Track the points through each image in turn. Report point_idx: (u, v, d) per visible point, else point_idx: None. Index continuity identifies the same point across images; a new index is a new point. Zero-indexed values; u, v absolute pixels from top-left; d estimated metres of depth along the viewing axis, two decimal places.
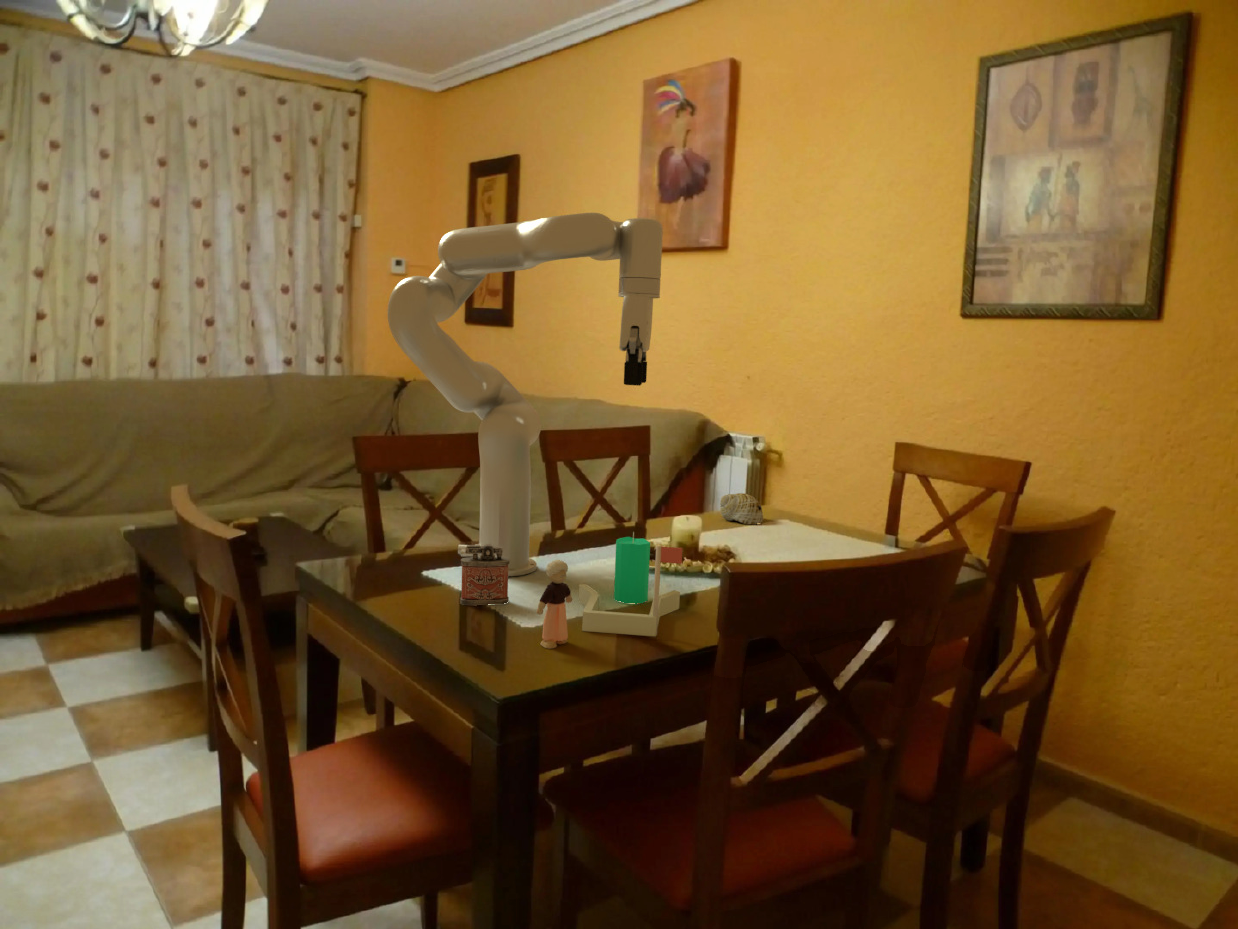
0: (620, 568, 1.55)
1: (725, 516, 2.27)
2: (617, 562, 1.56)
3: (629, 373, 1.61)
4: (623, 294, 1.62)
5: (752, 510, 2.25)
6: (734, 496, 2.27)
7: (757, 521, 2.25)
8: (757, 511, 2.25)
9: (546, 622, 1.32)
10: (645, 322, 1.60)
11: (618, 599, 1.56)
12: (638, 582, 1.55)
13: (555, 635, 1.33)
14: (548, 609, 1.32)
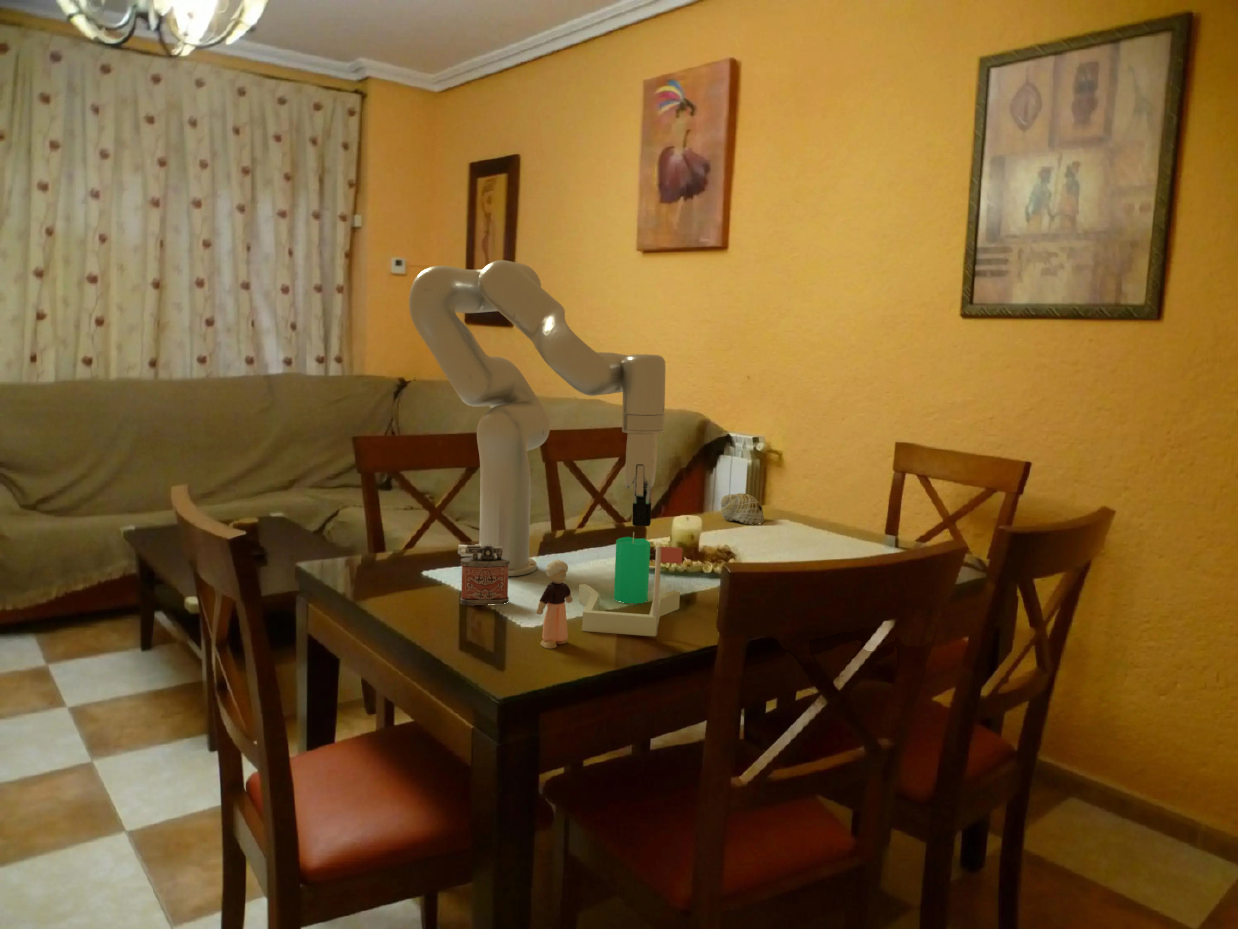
0: (621, 568, 1.55)
1: (726, 516, 2.27)
2: (617, 562, 1.56)
3: (637, 515, 1.62)
4: (627, 431, 1.59)
5: (753, 510, 2.25)
6: (735, 496, 2.27)
7: (758, 521, 2.25)
8: (758, 511, 2.25)
9: (546, 622, 1.32)
10: (650, 460, 1.57)
11: (618, 599, 1.56)
12: (638, 582, 1.55)
13: (555, 635, 1.33)
14: (548, 609, 1.32)
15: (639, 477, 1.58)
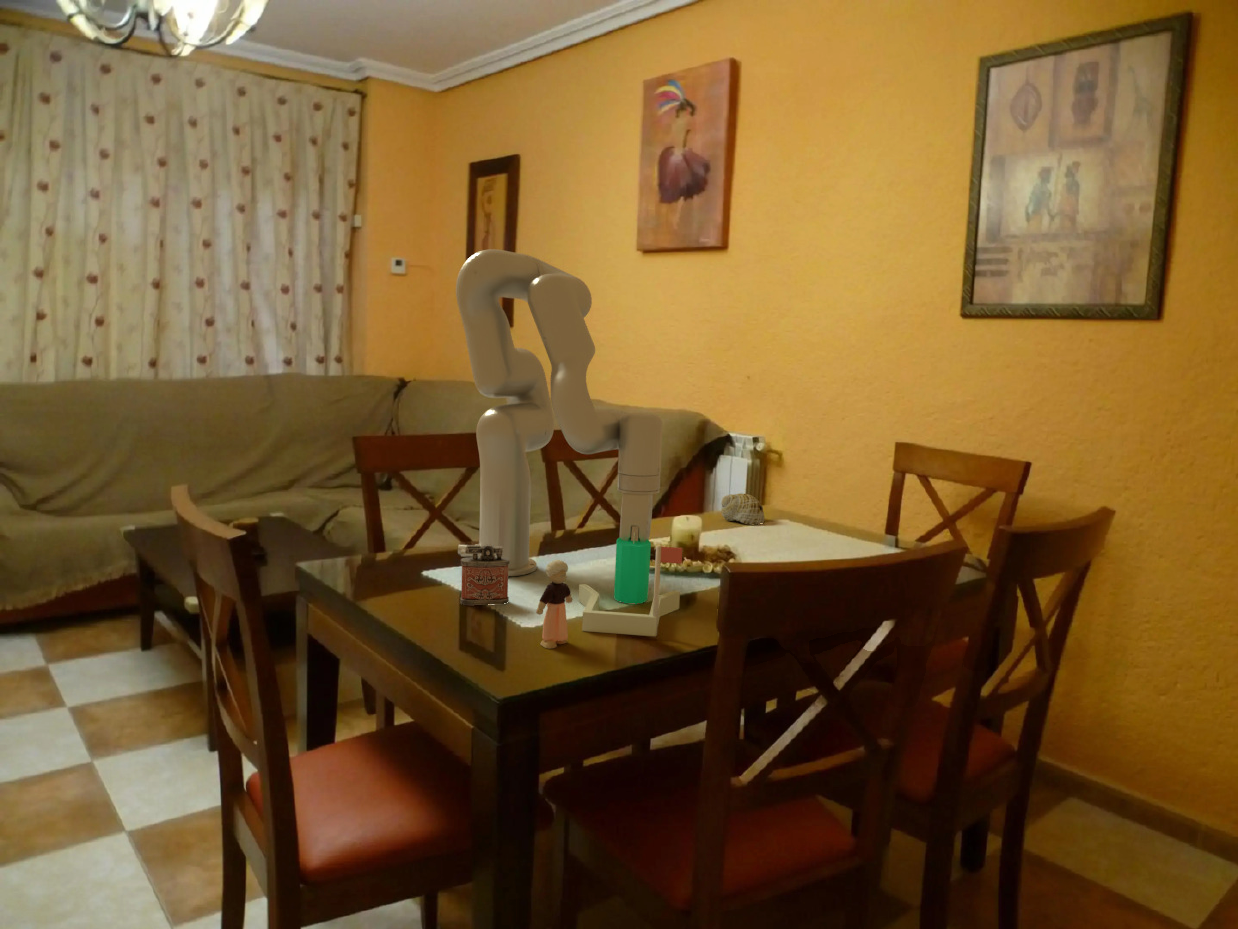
0: (621, 569, 1.54)
1: (726, 516, 2.27)
2: (617, 562, 1.55)
3: None
4: (622, 491, 1.58)
5: (753, 510, 2.25)
6: (735, 496, 2.27)
7: (758, 521, 2.25)
8: (758, 511, 2.25)
9: (546, 622, 1.32)
10: (645, 522, 1.56)
11: (618, 598, 1.56)
12: (639, 583, 1.54)
13: (555, 635, 1.33)
14: (548, 609, 1.32)
15: (633, 538, 1.57)
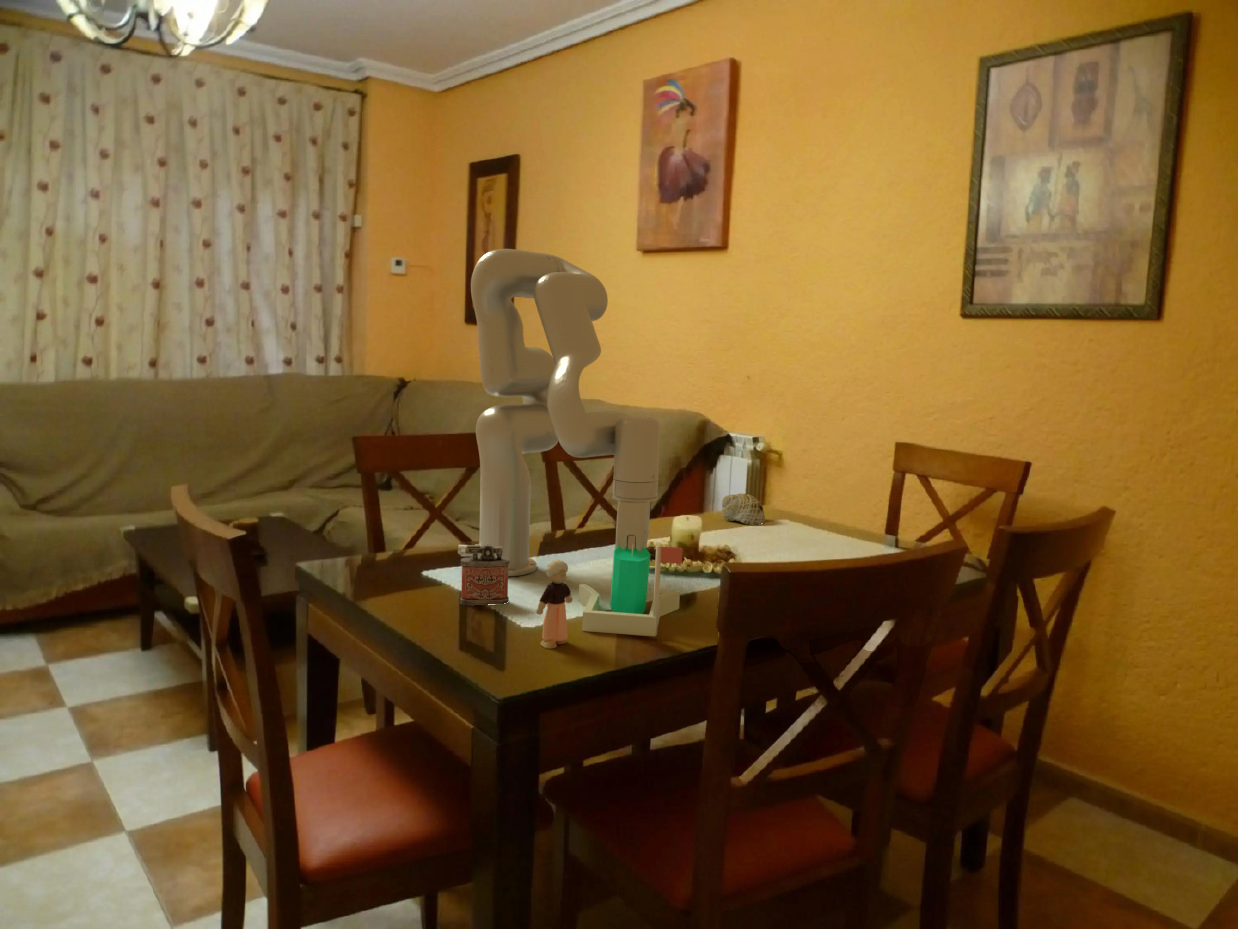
0: (618, 582, 1.46)
1: (727, 516, 2.27)
2: (615, 575, 1.46)
3: None
4: (618, 498, 1.49)
5: (754, 510, 2.25)
6: (736, 496, 2.26)
7: (759, 521, 2.25)
8: (759, 511, 2.25)
9: (546, 622, 1.32)
10: (642, 531, 1.48)
11: (615, 611, 1.48)
12: (637, 596, 1.47)
13: (555, 635, 1.33)
14: (548, 609, 1.32)
15: (630, 548, 1.48)
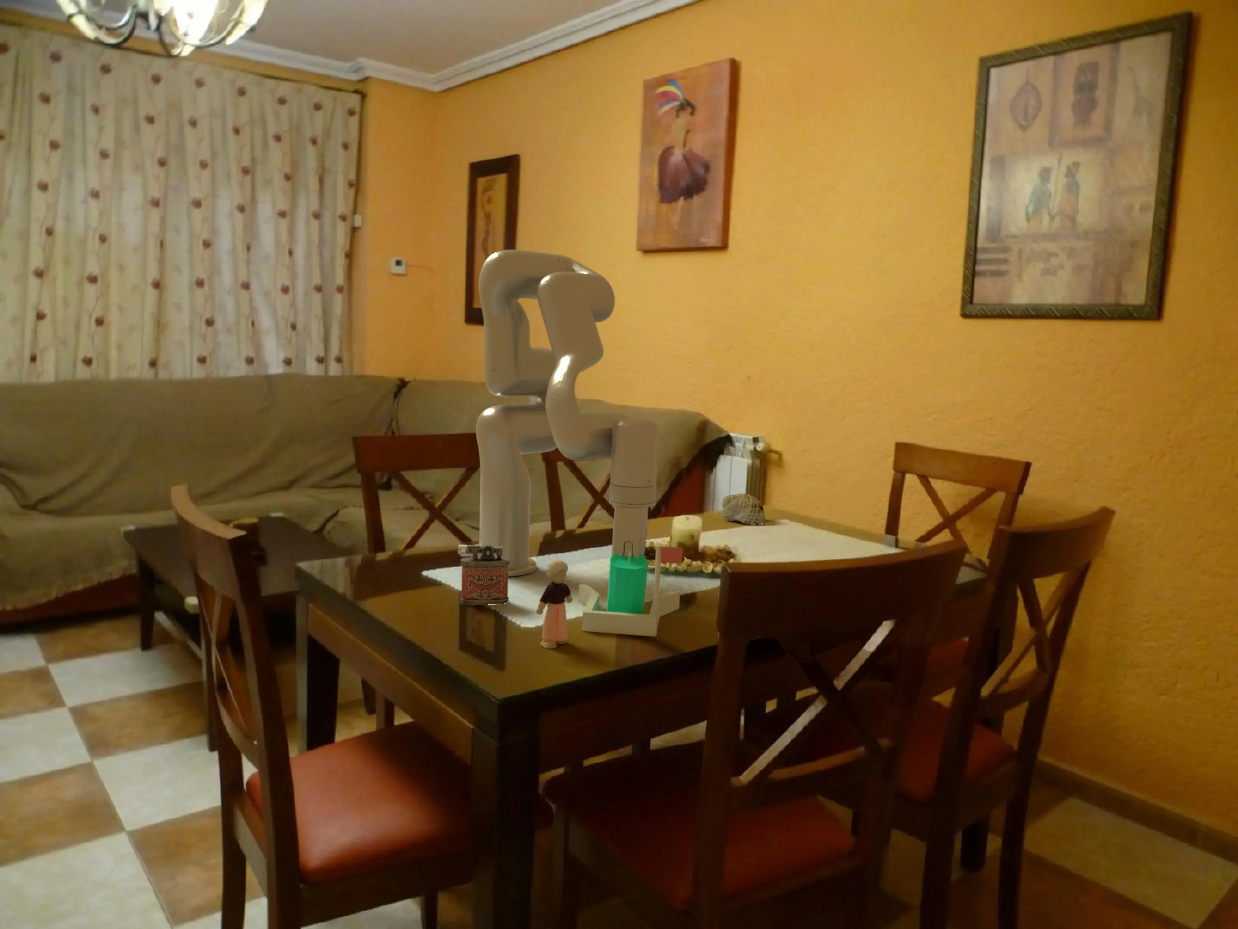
0: (615, 591, 1.41)
1: (727, 517, 2.27)
2: (611, 583, 1.42)
3: None
4: (615, 504, 1.45)
5: (754, 510, 2.25)
6: (736, 496, 2.26)
7: (759, 521, 2.25)
8: (759, 511, 2.25)
9: (546, 622, 1.32)
10: (640, 537, 1.43)
11: None
12: (634, 605, 1.42)
13: (555, 635, 1.33)
14: (548, 609, 1.32)
15: (627, 555, 1.44)
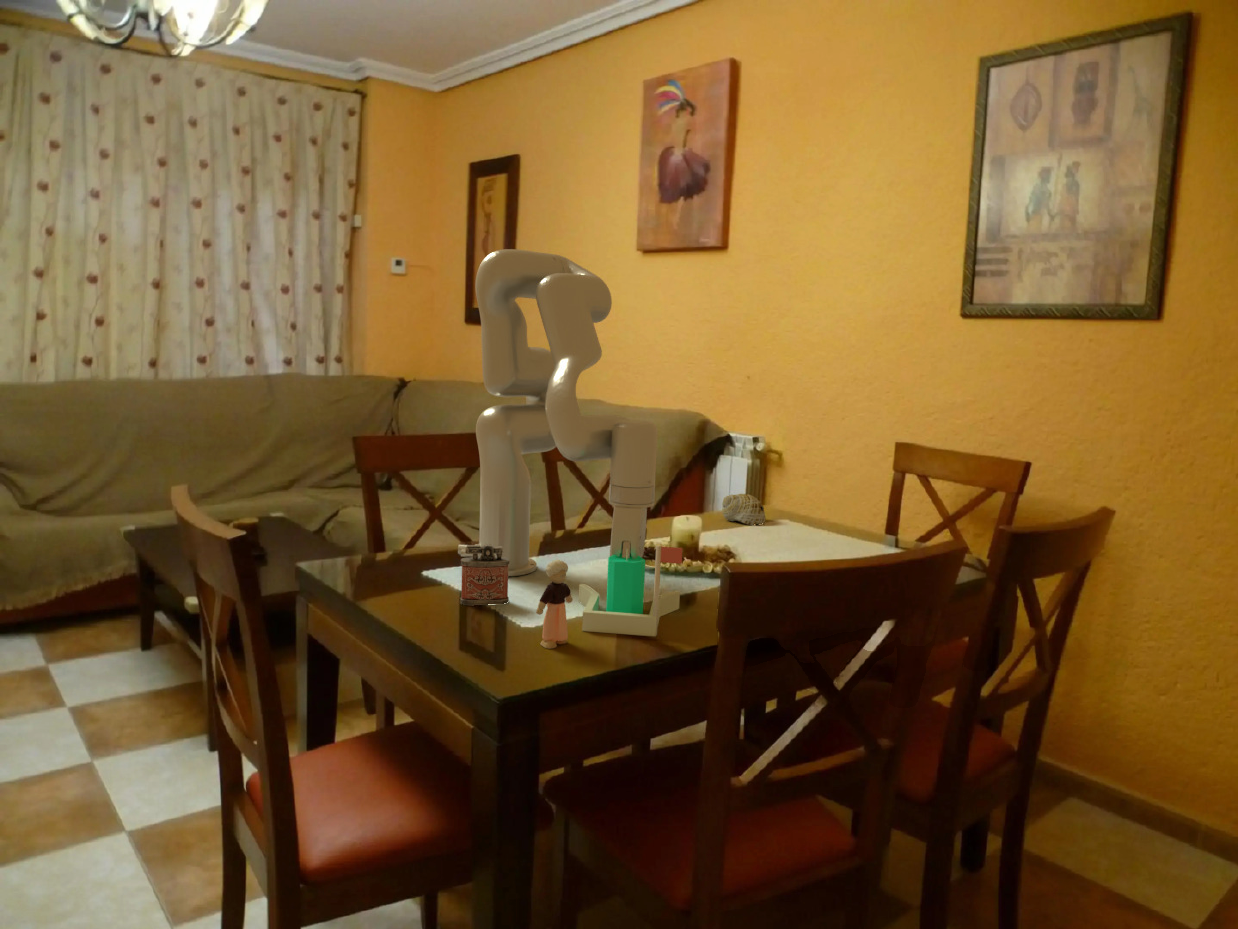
0: (613, 588, 1.42)
1: (727, 517, 2.27)
2: (609, 582, 1.43)
3: None
4: (613, 503, 1.47)
5: (755, 511, 2.24)
6: (736, 497, 2.26)
7: (760, 522, 2.25)
8: (760, 512, 2.25)
9: (546, 622, 1.32)
10: (637, 537, 1.46)
11: None
12: (633, 603, 1.42)
13: (555, 635, 1.33)
14: (548, 609, 1.32)
15: (625, 554, 1.46)
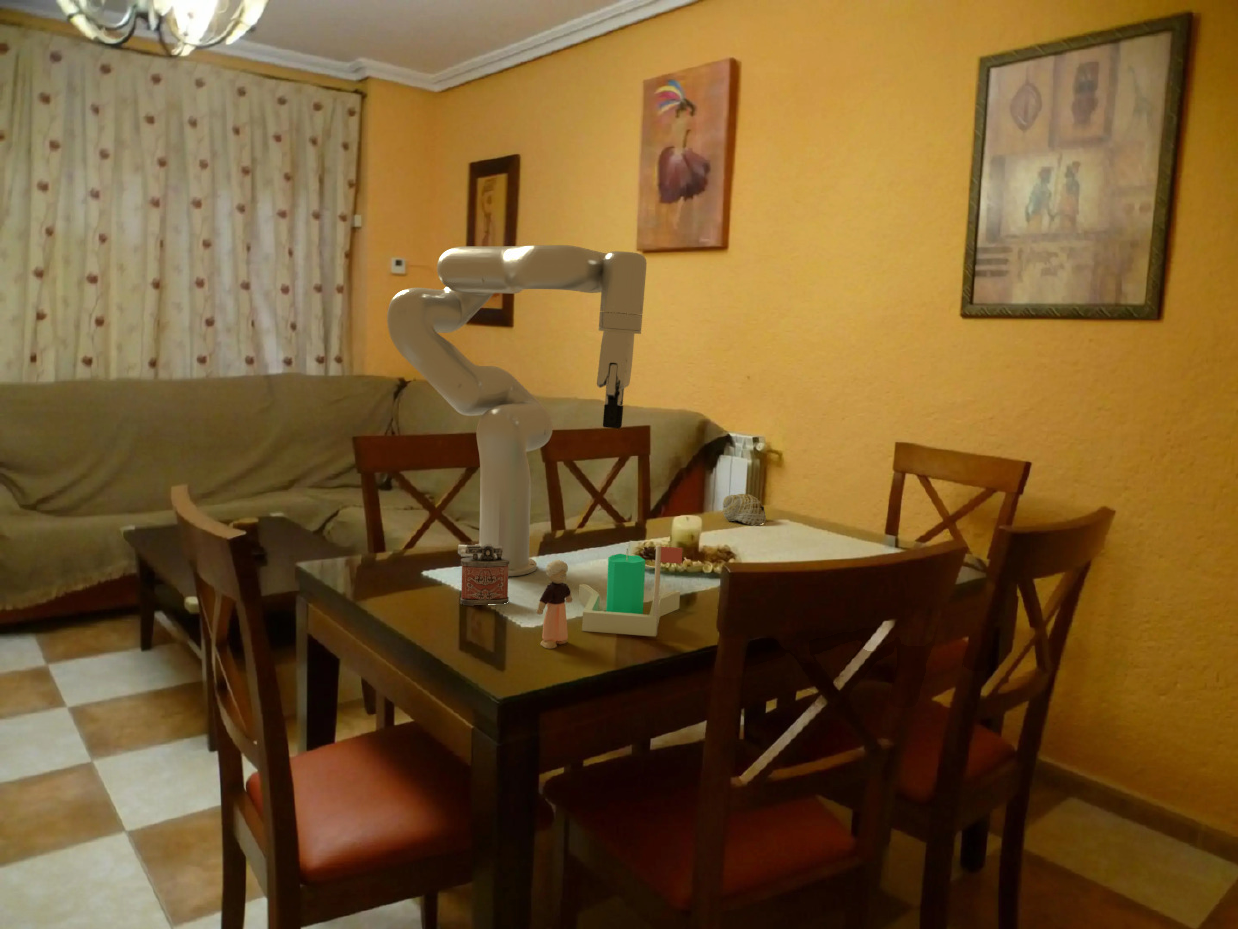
0: (613, 588, 1.42)
1: (728, 517, 2.27)
2: (609, 582, 1.43)
3: (608, 416, 1.60)
4: (603, 329, 1.57)
5: (755, 511, 2.24)
6: (737, 497, 2.26)
7: (760, 522, 2.25)
8: (760, 512, 2.25)
9: (546, 622, 1.32)
10: (624, 359, 1.55)
11: None
12: (633, 603, 1.42)
13: (555, 635, 1.33)
14: (548, 609, 1.32)
15: (612, 376, 1.56)
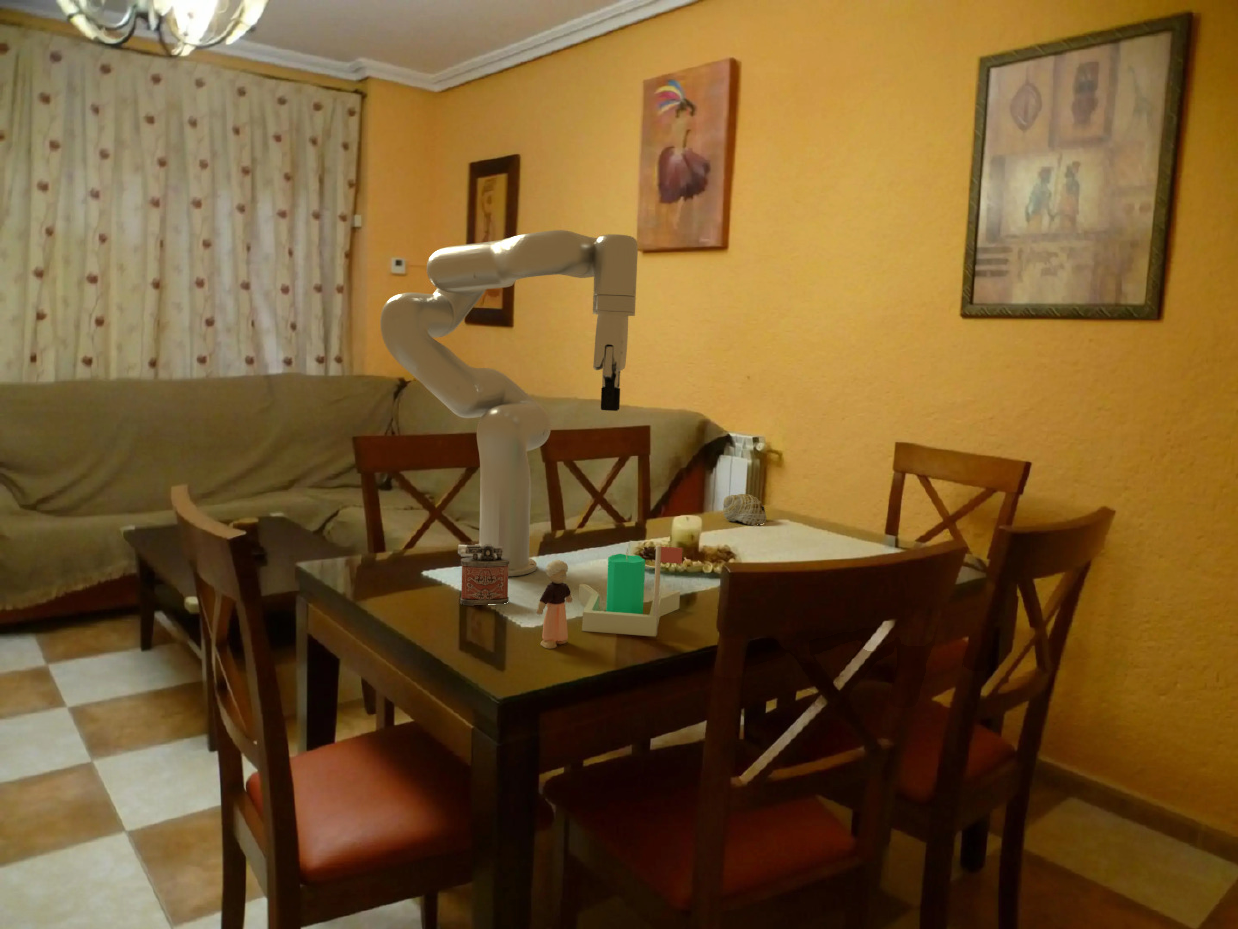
0: (613, 588, 1.42)
1: (728, 517, 2.26)
2: (609, 582, 1.43)
3: (606, 398, 1.61)
4: (597, 312, 1.58)
5: (756, 511, 2.24)
6: (737, 497, 2.26)
7: (761, 522, 2.25)
8: (761, 512, 2.25)
9: (546, 622, 1.32)
10: (619, 341, 1.56)
11: None
12: (633, 603, 1.42)
13: (555, 635, 1.33)
14: (548, 609, 1.32)
15: (608, 358, 1.57)
